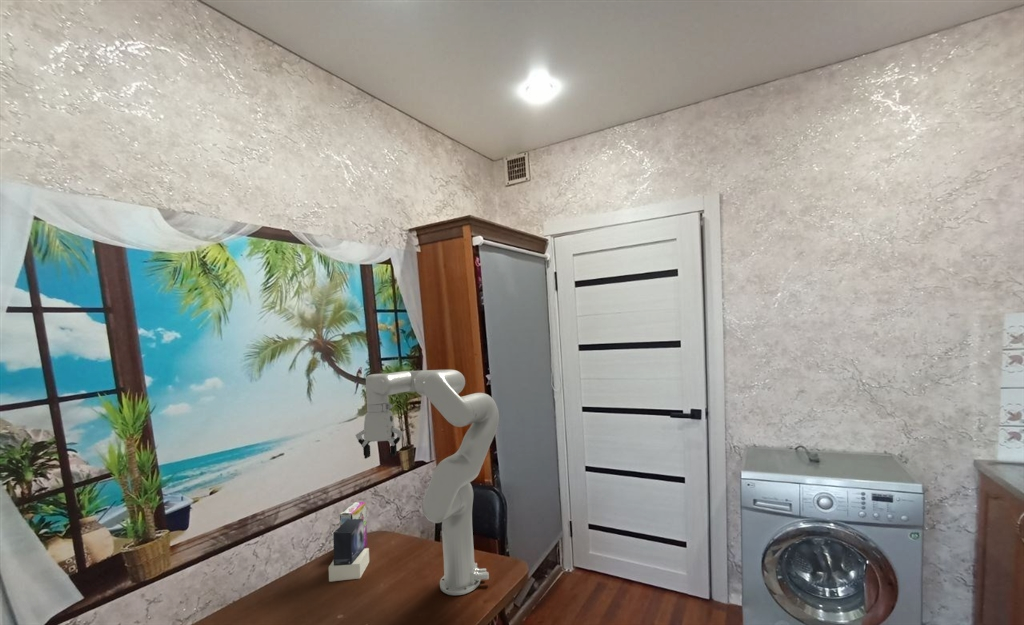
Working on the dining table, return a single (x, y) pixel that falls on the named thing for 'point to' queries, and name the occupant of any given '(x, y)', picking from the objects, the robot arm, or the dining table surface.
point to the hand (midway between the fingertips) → (380, 456)
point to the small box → (348, 541)
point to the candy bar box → (356, 516)
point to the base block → (349, 568)
